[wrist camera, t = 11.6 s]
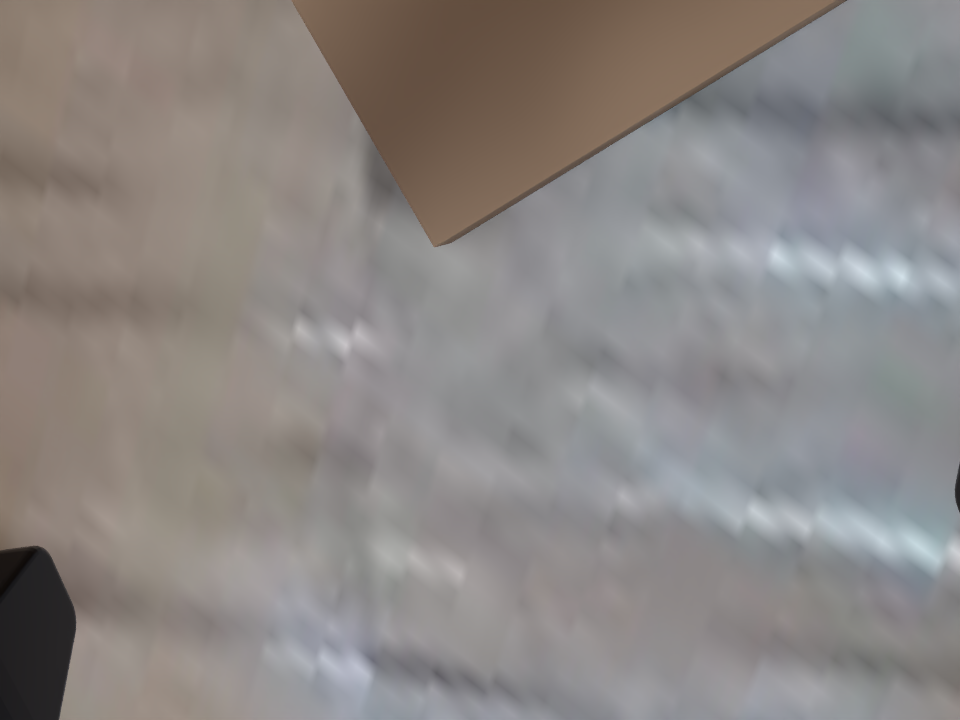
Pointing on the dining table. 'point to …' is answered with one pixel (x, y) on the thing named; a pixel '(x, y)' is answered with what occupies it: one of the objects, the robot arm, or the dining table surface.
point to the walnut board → (525, 83)
